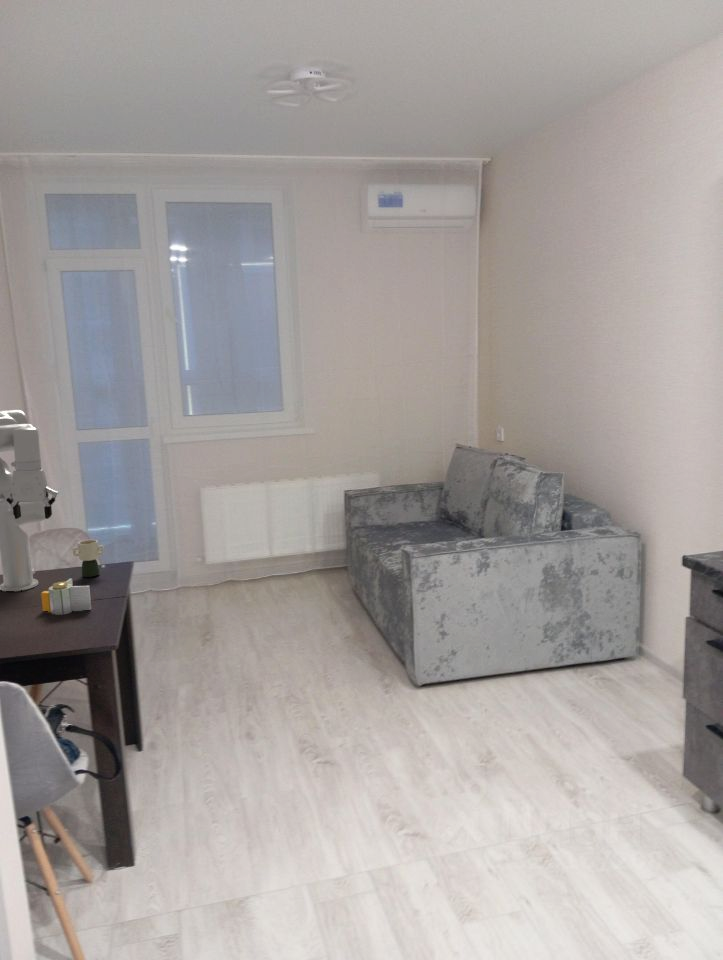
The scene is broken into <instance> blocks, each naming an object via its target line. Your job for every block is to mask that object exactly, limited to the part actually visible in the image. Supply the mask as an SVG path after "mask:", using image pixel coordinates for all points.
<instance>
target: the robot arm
mask: <svg viewBox="0 0 723 960" xmlns="http://www.w3.org/2000/svg"><path fill="white" fill-rule="evenodd" d="M39 436H40V435H39V430H38V428H37V427H34V426H33V425H32V424H31V423H29V419H28V416H27V414H26V413H25V412H24V411H22V410H21V409H8V410H4V409H3V410H0V453H1V452H2V453H3V452H12V451H13V452H14V461H13V462H11V463H10V466H11V467H14V470H13V472H11V470H10V466H9V464H8V463H7V462H6V461H5V460H4V459H2V458H1V457H0V560H1V568H2V570H1V571H2V578H3V583H2V582H1V584H0V591H1V590H2V591H1V592H6V591H14V592H21V590H22V591H27V590H29V589H33V588H35V587H37V586H38V585H39V580H38V579H36V578H34V574H36V570H35V569H34V568H33V564H32V557H31V547H30V538H29V535H28V534H27V532H26V531H25V530H23V529H22V528H21V527H20V526H23V525H28V524H33V523H41V522H43V521H45V520H48V519H50V518H51V517H52V515H53V512H52V511H53V510H52V505H53V503H55V502H56V500H57V498H58V496H59V494H60V492H59V491H57V490H55V489H53V488H51V487H49V486H48V480H47V477H46V472H45V469H43V468H42V458H41V448H40V437H39ZM49 494H50V495H52V497H51V498H49Z"/></svg>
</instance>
